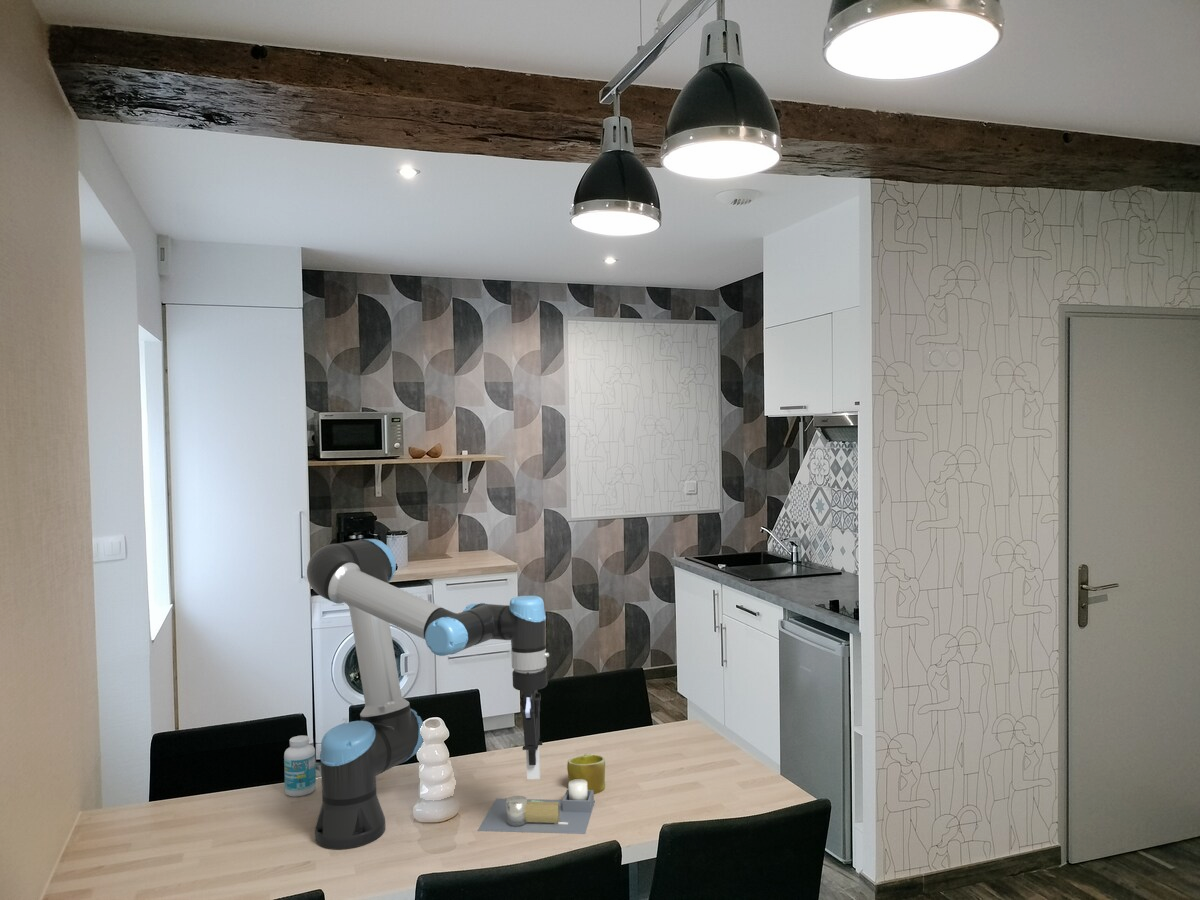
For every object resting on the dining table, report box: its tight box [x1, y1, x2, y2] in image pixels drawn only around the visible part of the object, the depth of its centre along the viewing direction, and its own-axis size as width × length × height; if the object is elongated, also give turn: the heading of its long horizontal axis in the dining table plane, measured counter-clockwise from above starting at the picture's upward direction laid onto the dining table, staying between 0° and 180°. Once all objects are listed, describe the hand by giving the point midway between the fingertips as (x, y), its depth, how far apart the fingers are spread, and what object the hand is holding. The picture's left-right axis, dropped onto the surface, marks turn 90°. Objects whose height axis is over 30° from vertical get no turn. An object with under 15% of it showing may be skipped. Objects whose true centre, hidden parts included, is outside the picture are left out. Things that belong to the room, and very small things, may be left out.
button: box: [568, 779, 588, 800], centre depth 195 cm, size 4×4×4 cm
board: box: [477, 789, 596, 835], centre depth 190 cm, size 24×17×4 cm
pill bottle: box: [283, 735, 317, 798], centre depth 211 cm, size 8×7×14 cm
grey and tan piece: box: [506, 795, 560, 826], centre depth 186 cm, size 12×5×5 cm, turn 83°
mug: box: [566, 753, 606, 795], centre depth 207 cm, size 12×10×10 cm
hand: (533, 777), depth 180 cm, fingers closed
